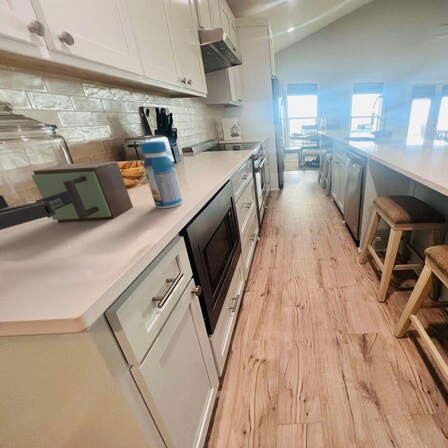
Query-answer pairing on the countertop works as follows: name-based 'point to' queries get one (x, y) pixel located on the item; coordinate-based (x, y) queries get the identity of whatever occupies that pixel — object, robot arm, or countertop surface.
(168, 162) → the beverage bottle
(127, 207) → the cabinet
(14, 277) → the countertop surface
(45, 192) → the sliding door
